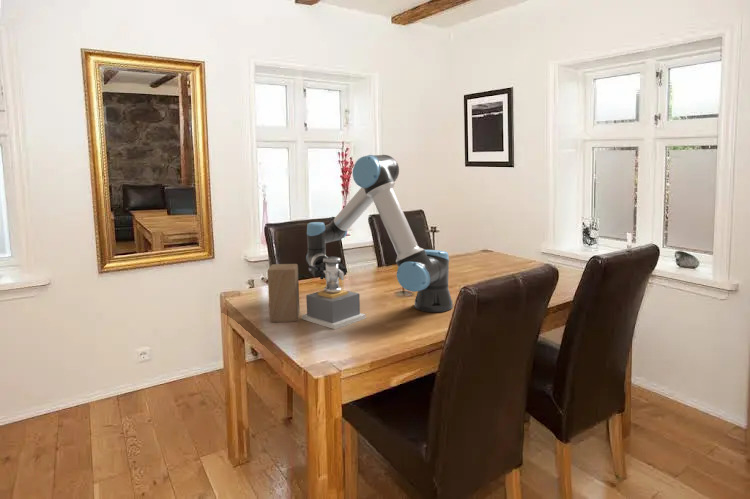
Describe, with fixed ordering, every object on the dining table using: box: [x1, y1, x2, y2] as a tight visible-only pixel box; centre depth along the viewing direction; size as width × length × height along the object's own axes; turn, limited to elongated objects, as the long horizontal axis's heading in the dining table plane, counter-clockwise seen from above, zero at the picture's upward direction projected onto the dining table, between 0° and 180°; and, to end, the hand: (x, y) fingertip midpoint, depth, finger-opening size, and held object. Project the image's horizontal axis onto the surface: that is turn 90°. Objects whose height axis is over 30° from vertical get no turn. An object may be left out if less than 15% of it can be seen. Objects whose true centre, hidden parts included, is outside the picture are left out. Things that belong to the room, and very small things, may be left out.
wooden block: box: [267, 263, 301, 323], centre depth 199 cm, size 10×10×20 cm
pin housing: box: [301, 288, 367, 330], centre depth 198 cm, size 18×16×10 cm
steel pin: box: [323, 256, 342, 294], centre depth 197 cm, size 6×6×20 cm
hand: (335, 277), depth 191 cm, fingers closed on steel pin, 5 cm apart
